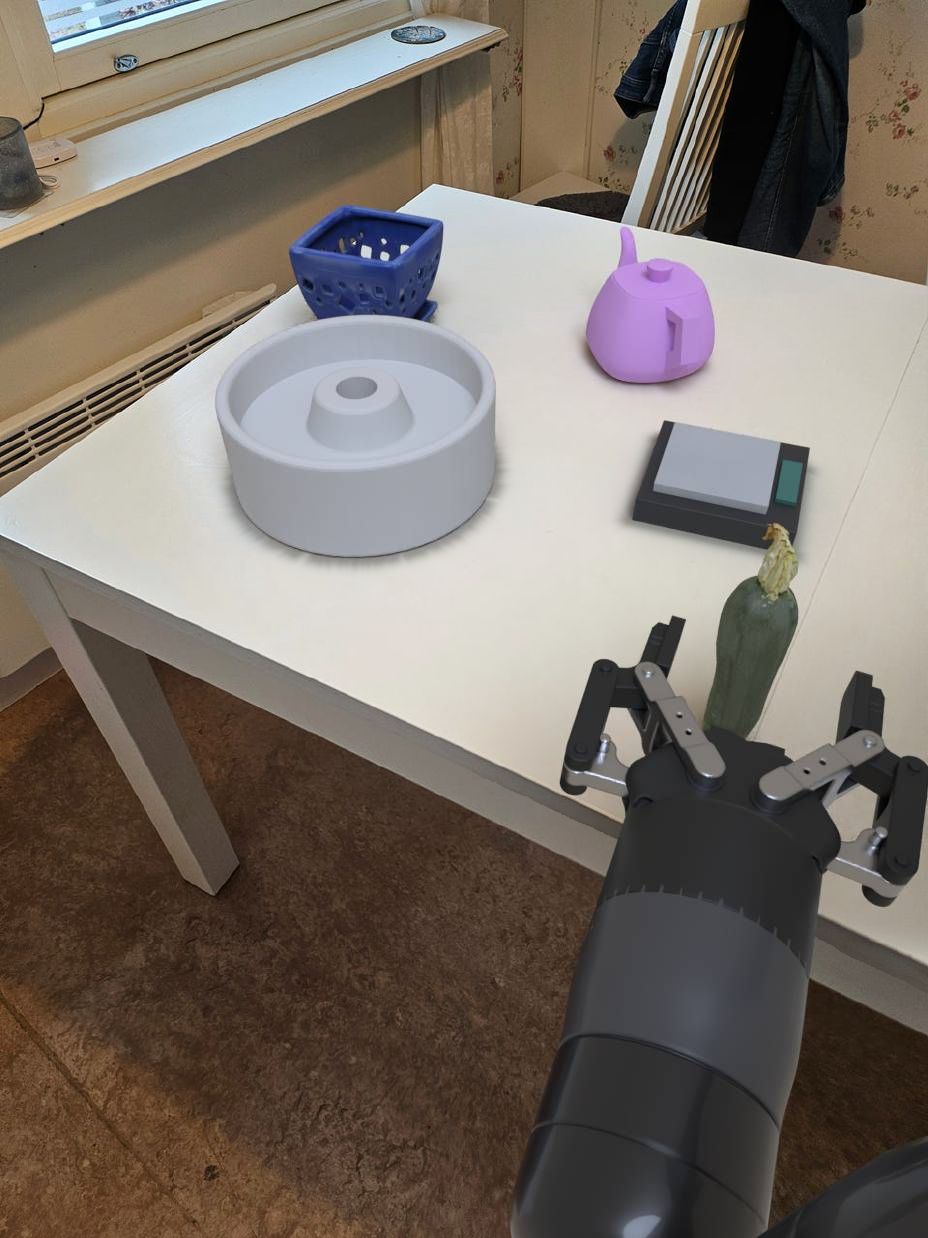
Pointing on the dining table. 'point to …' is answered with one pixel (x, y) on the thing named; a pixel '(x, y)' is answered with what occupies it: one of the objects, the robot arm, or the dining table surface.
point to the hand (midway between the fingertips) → (763, 655)
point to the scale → (722, 484)
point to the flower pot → (368, 264)
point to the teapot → (650, 319)
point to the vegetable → (754, 639)
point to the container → (359, 433)
